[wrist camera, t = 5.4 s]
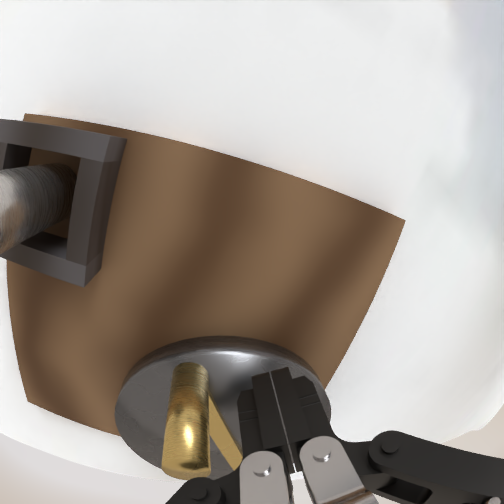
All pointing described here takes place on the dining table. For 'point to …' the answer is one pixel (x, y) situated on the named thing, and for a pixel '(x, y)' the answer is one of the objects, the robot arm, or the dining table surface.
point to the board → (178, 261)
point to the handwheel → (198, 401)
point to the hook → (33, 200)
